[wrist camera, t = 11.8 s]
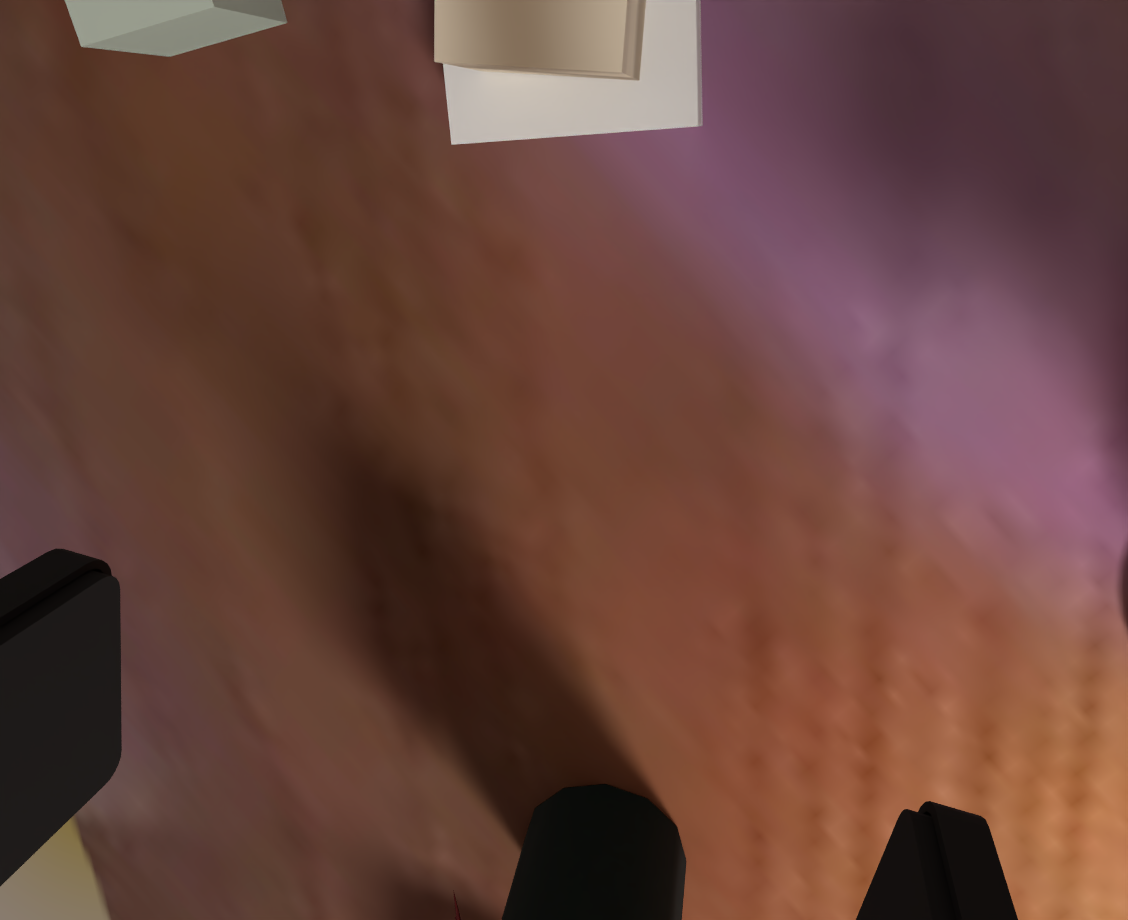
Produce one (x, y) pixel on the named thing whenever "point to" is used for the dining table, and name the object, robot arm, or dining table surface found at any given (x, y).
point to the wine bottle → (598, 860)
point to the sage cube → (169, 23)
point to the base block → (588, 90)
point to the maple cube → (542, 36)
